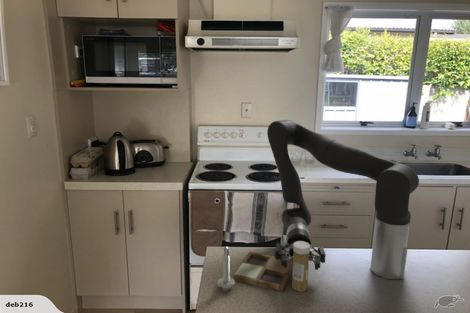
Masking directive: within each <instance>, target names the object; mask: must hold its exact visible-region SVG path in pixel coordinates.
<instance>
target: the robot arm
mask: <svg viewBox="0 0 470 313" xmlns="http://www.w3.org/2000/svg"><path fill="white" fill-rule="evenodd" d="M267 139H268V144H269V147H270V150H271V151H272V154H273V158H274V159H273V160H274V162H275V164H276V168H277V171H278V175H279V179H280V186H281V191H282V198H283V201H284V202H285V203H288V204H295V205H297V206H299V207H292V208H287V209H285V210H283V211H282V213H281V222H282V224H283V226H284V228H285V229H286V235H285V236H286V237H285V240H286V244H285V245H284V244H281V242H279V241H278V242H276V243H275V244H276V245H275V251H274V252H275V254H274V255H275V259H277V260H278V259H281V265H282V266H284V267H285V268H286V265H287V259H289V260H292V259H293V255H294V251H293V244H294V243H295V242H297V241H304V242H307V243H309V244H310V252H309V262H313V263H314V270H315V271H318V270H319V269H321V263H322V264H324V263H326V251H325V249H324V246H323V245H322V244H320V245H319V244H318V247H315V246H314V245H312V240H311V234H310V231H309V227H308V226H310V224H311V223H312V215H311V213H310V210H309V208H308V207H307V204H306V201H305V199H304V195H303V191H302V190H303V189H302V184H301V178H300V176H299V173H298V171H297V169H296V168H295V166H294V164H293V162H292V160H291V158H290V155H289V149H288V146H295V147H298V148H301V149H302V150H305V151H307V152H308V153H309V154H310V155H312V157H313V158H314V159H315V160H316V161H317V162H319V163H321V164H322V165H324V166H326V167H329V168H330V169H333V170H335V171H338V172H342V173H346V174H349V175H355V176H357V175H358V176H362V177H366V178H369V179H371V180H373V181H375V191H374V192H375V194H374V195H375V197H374V210H375V220H374V221H375V222H374V231H373V240H372V250H371V259H370V270H371V272H373V274H375V275H376V276H379V277H381V278H383V279H387V280H398V279H399V280H400V279H401V280H405V273H406V265H407V255H408V247H407V246H408V240H409V239H408V238H409V234H410V223H411V217H412V216H411V215H412V214H411V212H410V211H409V205H410V195H411V194H412V193H413V192H415V190H416V189H417V188H418V187H419V184H420V178H419V176H418V174H417V172H416V170H414V169H413V168H412V167H410V166H409V165H406V164H402V163H399V162H396V161H392V160H388V159H385V158H382V157H379V156H376V155H373V154H372V153H369V152H368V151H367V152H366V151H364V150H362V149H360V148H358V147H355V146H352V145H350V144H349V143H345V142H343V141H341V140H339V139H336V138H333V137H331V136H330V137H329V136H328V135H325V134H322V133H318V132H316V131H313V130H311V129H309V128H307V127H305V126H303V125H302V124H300V123H298V122H296V121H294V120H293V119H281V120H276V121H272V122H271V123H269V126H268V128H267Z"/></svg>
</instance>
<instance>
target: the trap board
mask: <svg viewBox="0 0 470 313" xmlns="http://www.w3.org/2000/svg"><path fill="white" fill-rule="evenodd" d="M292 272H293V259H290V260H289V259H287V265H286V268H285V267H284V266H282V265H281V259H278V260H277V259H275V256H274V255H270V254H265V253H264V254H263V253H260V252H254V251H249V252H248V254H247V255H246V256H245V258H244V259H243V261H242V262H241V263H240V264H239V266H238V267H237V268H236V270H235V272H234V273H233V274H232V278H233V279H234V280H235V281H237V282H241V283H245V284H248V285H253V286H256V287H257V286H258V287H261V288H265V289H269V290H274V291H277V292H280V293H283V292H284V288H285V287H286V284H287V282H288V280H289V277H290V276H291V274H292Z"/></svg>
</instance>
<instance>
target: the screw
mask: <svg viewBox="0 0 470 313" xmlns="http://www.w3.org/2000/svg"><path fill="white" fill-rule="evenodd" d="M229 254H230V252H229V247H228V246H224V247H223V255H222V273H223V274H222V277H220V278H219V279H218V280H217V285H218V286H219V287H220V288H221V290H222V291H224V292H228V291H231V288H232V287H234V286H235V284H236V282H235V281H236V280H234V279H233V277H231V276H230V270H231V269H230V255H229Z"/></svg>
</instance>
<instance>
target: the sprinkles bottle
mask: <svg viewBox="0 0 470 313" xmlns="http://www.w3.org/2000/svg"><path fill="white" fill-rule="evenodd" d="M293 251H294V255H293V258H292V260H293V269H292V272H291V274H292V275H291V276H292V277H291V278H292V281H291V282H292V284H291V287H292V289H293V290H294V291H296V292H305V291H306V290H308V289H309V286H308V283H309V282H308V280H309V262H310V261H309V252H310V244H309V243H307V242H304V241H297V242H295V243H294V244H293Z"/></svg>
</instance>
